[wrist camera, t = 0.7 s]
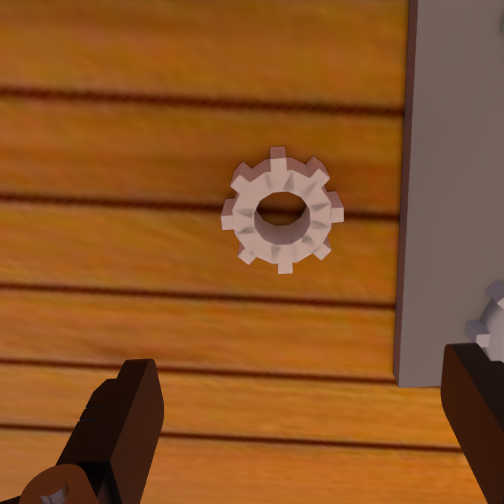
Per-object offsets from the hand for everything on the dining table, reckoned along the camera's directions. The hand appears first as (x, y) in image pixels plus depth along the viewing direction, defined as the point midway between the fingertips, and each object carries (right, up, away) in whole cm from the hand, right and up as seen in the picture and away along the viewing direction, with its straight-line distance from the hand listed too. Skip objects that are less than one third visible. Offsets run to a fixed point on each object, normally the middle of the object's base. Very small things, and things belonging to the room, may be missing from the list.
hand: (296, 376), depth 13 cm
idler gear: (0, +6, +14) cm, 16 cm away
